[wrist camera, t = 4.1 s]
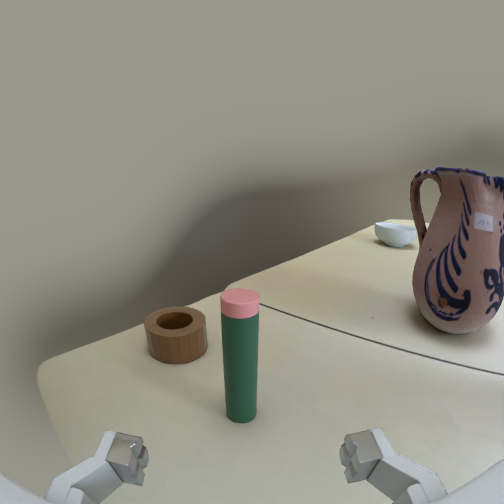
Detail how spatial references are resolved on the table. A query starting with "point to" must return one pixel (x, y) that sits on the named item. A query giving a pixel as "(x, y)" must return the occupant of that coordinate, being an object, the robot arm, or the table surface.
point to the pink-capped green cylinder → (240, 352)
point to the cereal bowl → (395, 234)
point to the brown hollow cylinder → (176, 334)
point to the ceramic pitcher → (460, 250)
